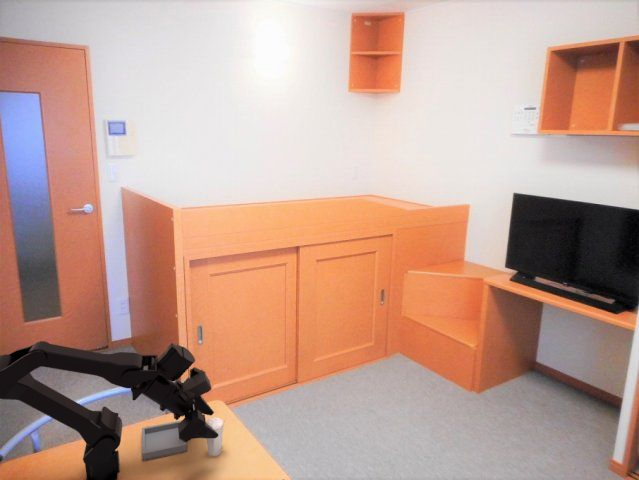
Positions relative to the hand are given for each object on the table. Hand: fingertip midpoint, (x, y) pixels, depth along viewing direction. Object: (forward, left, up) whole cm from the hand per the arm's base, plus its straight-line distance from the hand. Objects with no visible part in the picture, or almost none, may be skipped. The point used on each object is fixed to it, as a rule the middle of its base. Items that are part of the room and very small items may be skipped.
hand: (214, 424), depth 115 cm
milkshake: (0, 0, -8) cm, 8 cm away
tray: (-12, +8, -8) cm, 16 cm away
